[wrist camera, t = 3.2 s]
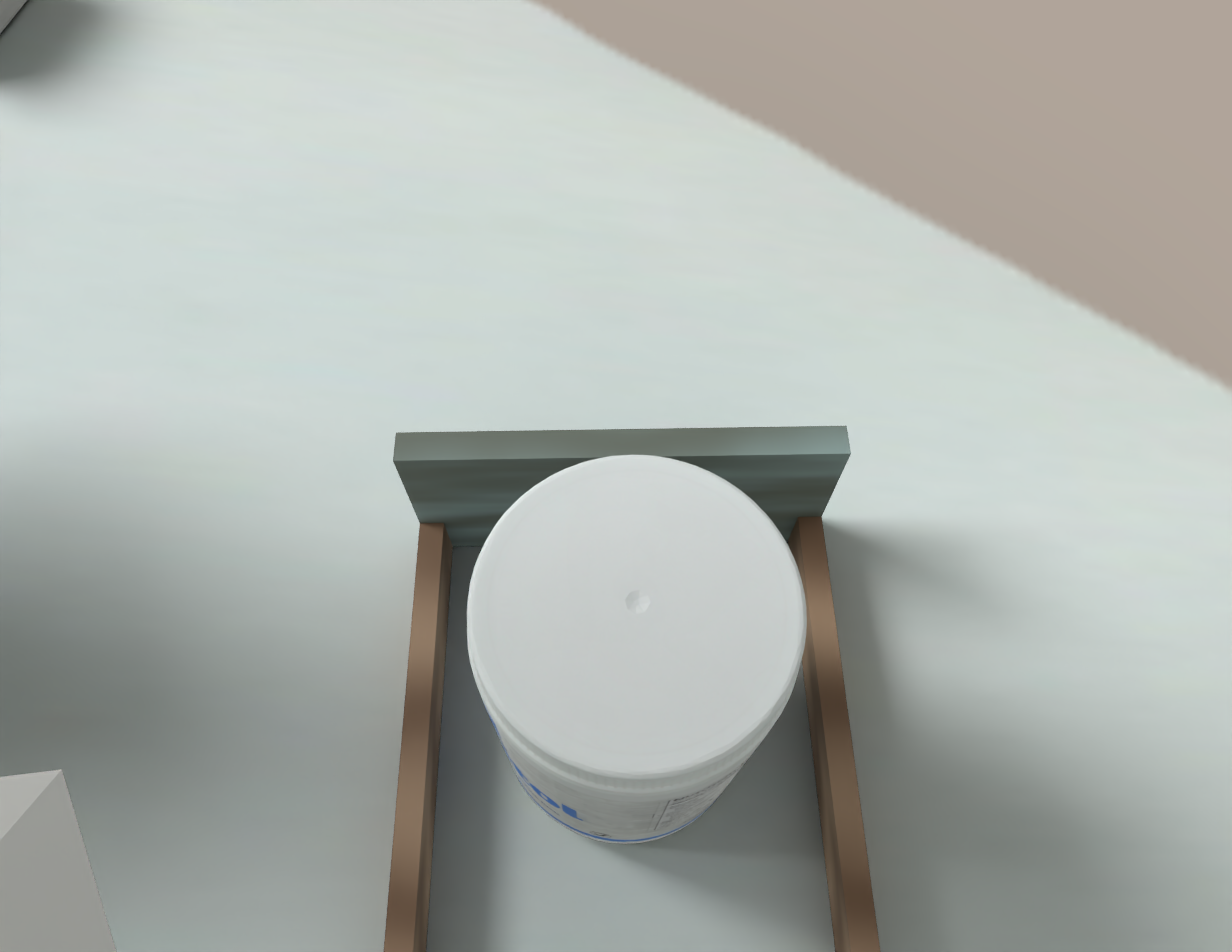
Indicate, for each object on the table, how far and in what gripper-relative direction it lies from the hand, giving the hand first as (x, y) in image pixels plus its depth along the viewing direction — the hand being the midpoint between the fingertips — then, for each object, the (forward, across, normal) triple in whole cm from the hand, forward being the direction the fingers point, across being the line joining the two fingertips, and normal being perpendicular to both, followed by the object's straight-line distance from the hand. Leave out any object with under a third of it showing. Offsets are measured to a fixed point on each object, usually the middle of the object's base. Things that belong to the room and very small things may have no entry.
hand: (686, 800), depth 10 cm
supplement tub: (+25, 0, -14) cm, 29 cm away
